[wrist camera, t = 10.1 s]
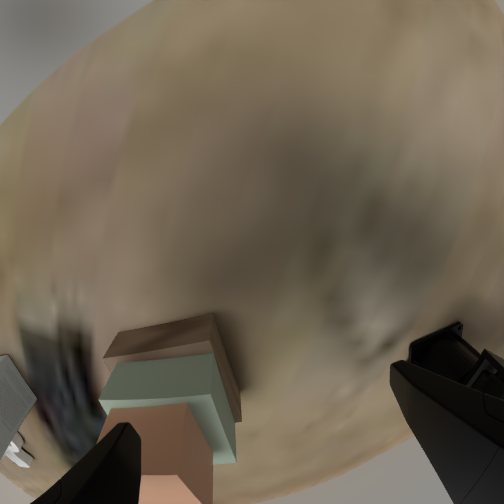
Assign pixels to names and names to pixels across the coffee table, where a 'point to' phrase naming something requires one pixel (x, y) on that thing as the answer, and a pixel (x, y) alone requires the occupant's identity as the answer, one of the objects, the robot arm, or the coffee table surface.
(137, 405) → the sage top block
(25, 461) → the joystick
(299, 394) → the coffee table surface
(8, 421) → the small box
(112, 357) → the walnut base block
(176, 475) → the terracotta cube
